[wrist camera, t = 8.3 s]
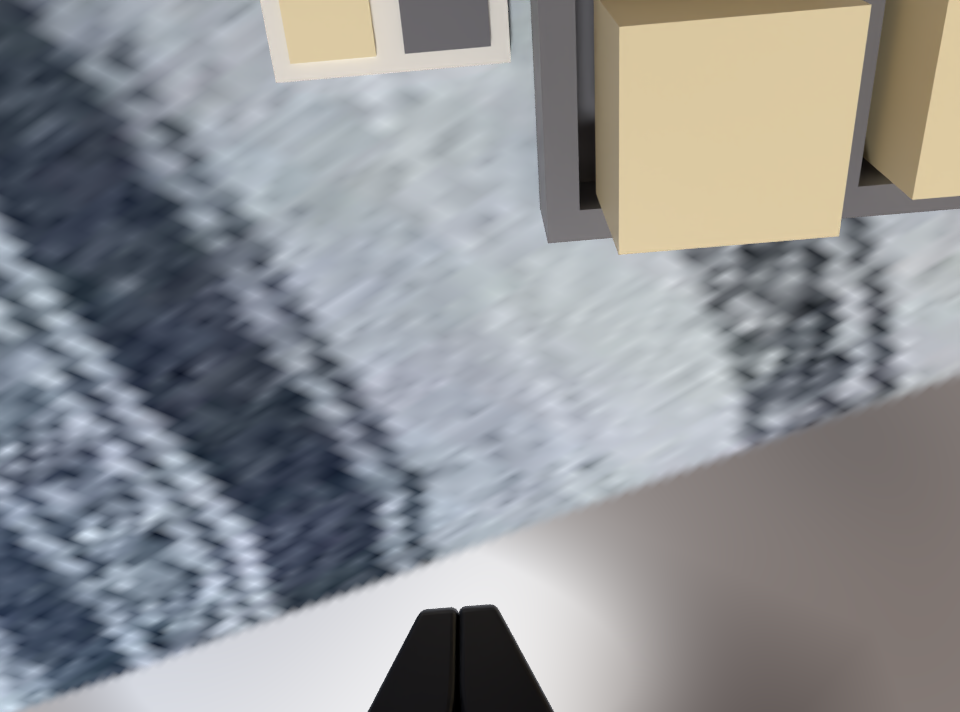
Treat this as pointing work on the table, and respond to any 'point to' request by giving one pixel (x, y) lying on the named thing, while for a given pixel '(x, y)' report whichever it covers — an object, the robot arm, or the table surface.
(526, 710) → the robot arm
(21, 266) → the table surface
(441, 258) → the table surface
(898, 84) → the button
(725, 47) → the button
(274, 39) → the card
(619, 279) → the table surface
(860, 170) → the button board
